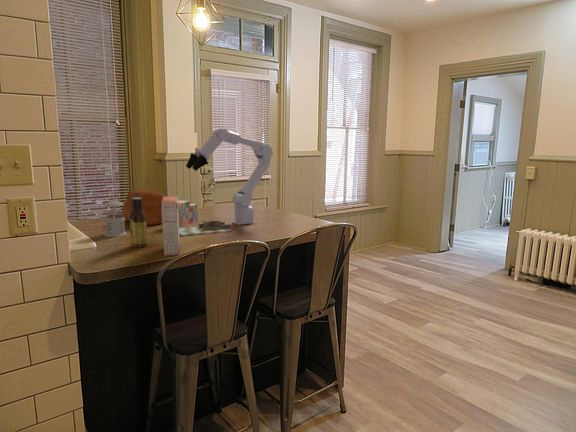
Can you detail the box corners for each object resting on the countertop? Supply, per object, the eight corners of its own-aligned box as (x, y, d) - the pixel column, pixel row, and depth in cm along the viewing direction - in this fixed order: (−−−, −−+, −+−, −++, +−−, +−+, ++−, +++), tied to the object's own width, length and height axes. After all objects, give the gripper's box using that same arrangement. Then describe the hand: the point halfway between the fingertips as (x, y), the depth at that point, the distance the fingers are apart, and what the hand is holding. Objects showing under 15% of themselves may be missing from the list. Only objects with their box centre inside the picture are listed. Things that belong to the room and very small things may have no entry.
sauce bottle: (133, 244, 170) (131, 196, 167) (149, 244, 171) (147, 196, 167) (129, 248, 164) (126, 198, 160) (145, 248, 164) (142, 199, 161)
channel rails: (224, 225, 206) (223, 221, 206) (229, 228, 200) (229, 224, 199) (198, 227, 200) (198, 223, 200) (203, 231, 193) (203, 226, 193)
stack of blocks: (187, 220, 224) (186, 197, 221) (197, 220, 222) (197, 198, 220) (168, 227, 203) (167, 203, 201) (180, 228, 202) (179, 204, 200)
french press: (104, 237, 180) (101, 180, 176) (102, 232, 191) (99, 178, 186) (128, 235, 185) (125, 180, 180) (125, 230, 195) (122, 177, 191)
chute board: (221, 226, 209) (221, 224, 209) (231, 231, 197) (231, 230, 197) (174, 230, 198) (174, 228, 197) (181, 236, 186) (181, 234, 185)
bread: (143, 227, 203) (142, 193, 200) (120, 221, 216) (118, 189, 213) (173, 222, 216) (172, 190, 213) (149, 217, 229) (148, 187, 226)
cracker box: (164, 247, 167) (162, 196, 163) (180, 246, 168) (178, 195, 165) (162, 256, 154) (160, 201, 150) (179, 255, 155) (177, 200, 151)
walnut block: (217, 226, 203) (217, 218, 202) (220, 228, 199) (220, 220, 198) (203, 228, 200) (203, 220, 199) (206, 229, 196) (206, 221, 195)
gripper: (197, 141, 204) (179, 161, 201) (210, 143, 193) (191, 164, 189) (206, 151, 208) (188, 170, 205) (219, 153, 197) (201, 174, 193)
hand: (190, 168), depth 197 cm, fingers open, 7 cm apart
